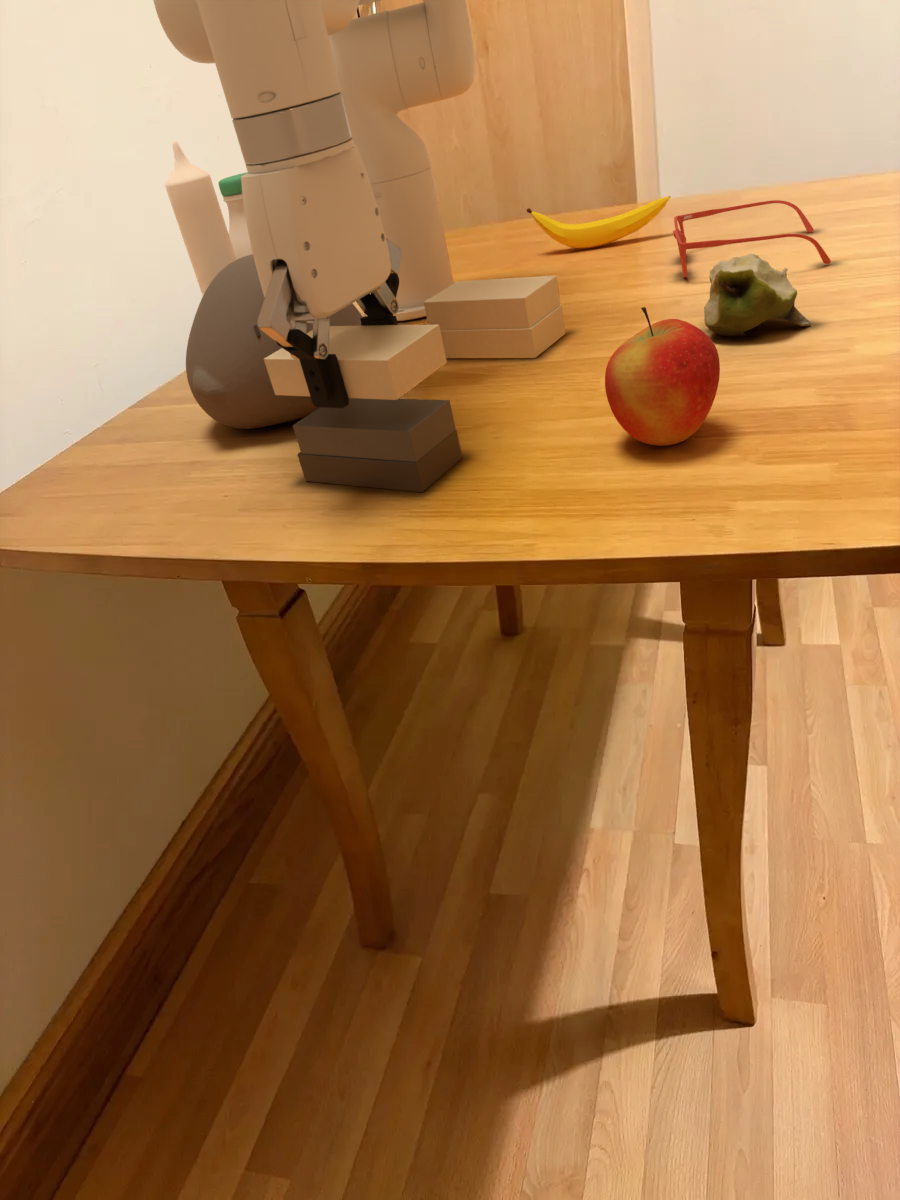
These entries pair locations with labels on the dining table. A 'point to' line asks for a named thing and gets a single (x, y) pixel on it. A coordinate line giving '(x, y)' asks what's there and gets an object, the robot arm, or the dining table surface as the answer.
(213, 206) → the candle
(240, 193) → the milk bottle
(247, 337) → the decorative object
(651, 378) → the apple
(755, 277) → the fruit
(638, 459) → the dining table surface
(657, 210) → the banana
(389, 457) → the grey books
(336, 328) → the cream rectangular block
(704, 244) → the red eyeglasses
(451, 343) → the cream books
